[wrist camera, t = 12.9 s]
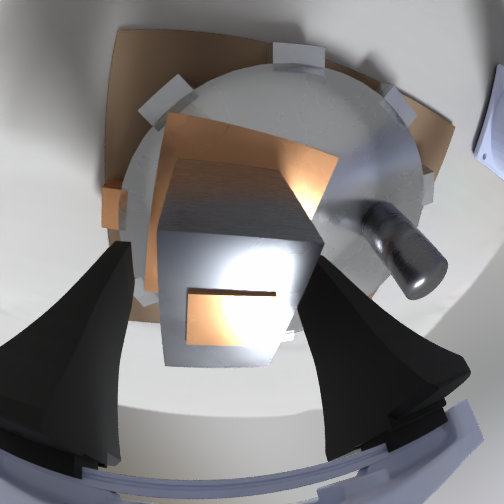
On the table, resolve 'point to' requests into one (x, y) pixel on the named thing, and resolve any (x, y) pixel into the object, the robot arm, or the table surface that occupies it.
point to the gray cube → (230, 263)
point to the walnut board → (197, 73)
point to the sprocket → (292, 165)
